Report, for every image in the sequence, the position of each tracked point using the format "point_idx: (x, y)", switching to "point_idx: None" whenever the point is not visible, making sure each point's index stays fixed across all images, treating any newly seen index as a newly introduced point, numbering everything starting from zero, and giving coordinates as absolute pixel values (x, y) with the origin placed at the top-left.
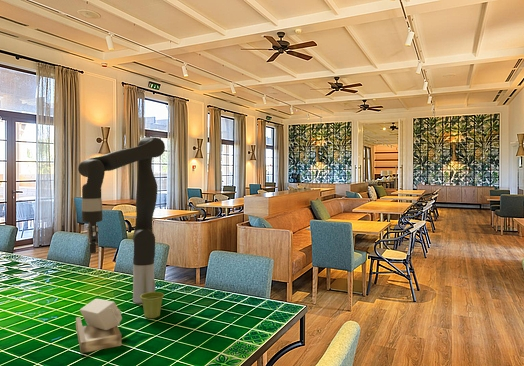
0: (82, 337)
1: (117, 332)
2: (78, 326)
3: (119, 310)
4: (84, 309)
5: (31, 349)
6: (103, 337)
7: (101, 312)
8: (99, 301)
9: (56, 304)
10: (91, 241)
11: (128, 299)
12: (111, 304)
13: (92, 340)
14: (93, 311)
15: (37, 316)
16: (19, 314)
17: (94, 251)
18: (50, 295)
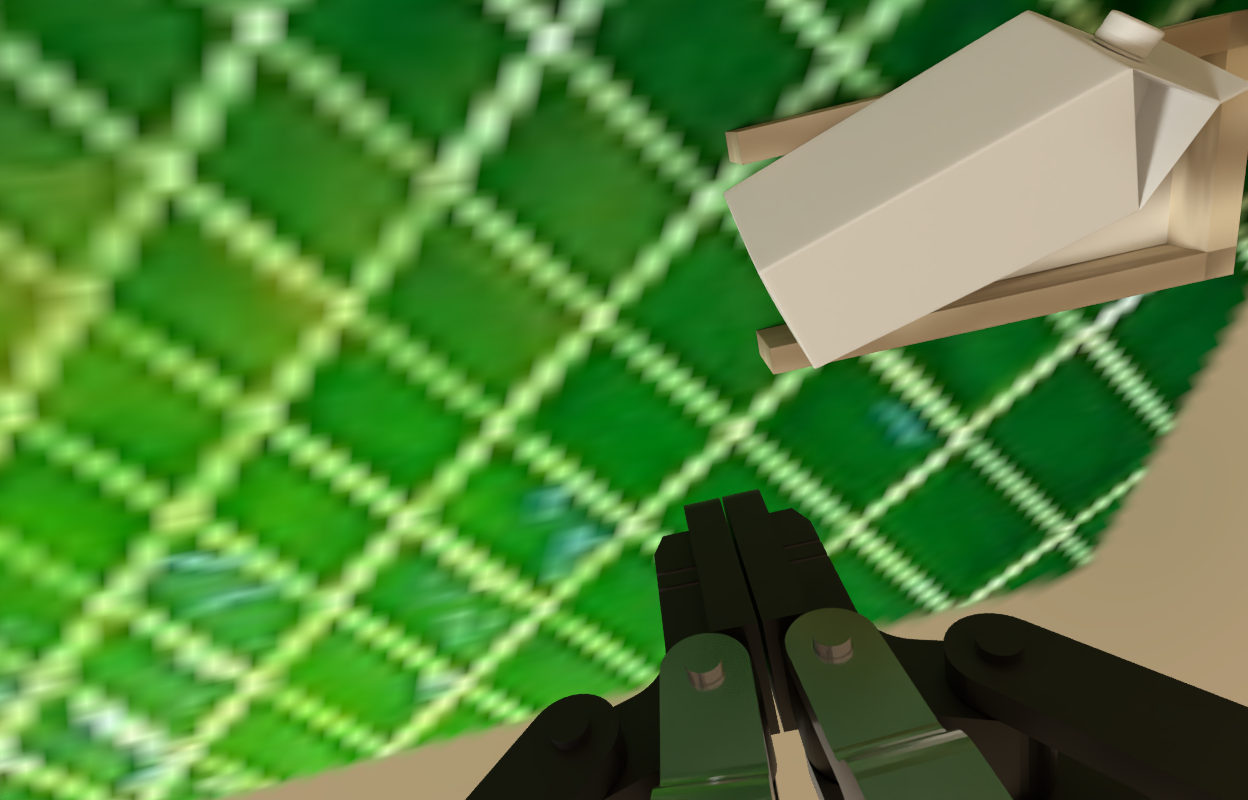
0: (1155, 277)
1: (1196, 42)
2: (953, 330)
3: (1136, 20)
4: (877, 332)
5: (1000, 506)
6: (1232, 139)
7: (1158, 179)
8: (890, 229)
9: (309, 540)
10: (1078, 762)
11: (210, 11)
12: (1133, 97)
13: (1240, 207)
14: (1037, 253)
15: (523, 589)
16: (471, 677)
17: (798, 521)
18: (111, 612)
